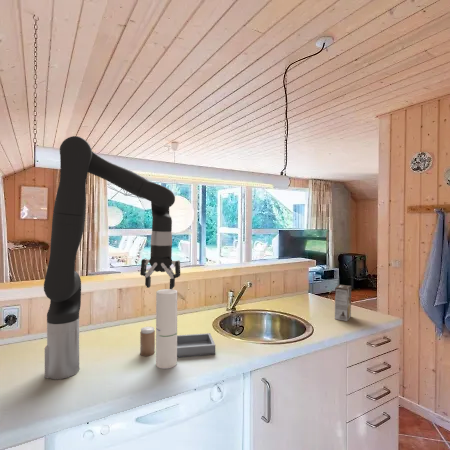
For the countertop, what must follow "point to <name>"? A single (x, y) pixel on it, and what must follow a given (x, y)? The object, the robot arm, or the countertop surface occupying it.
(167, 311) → the cylindrical container
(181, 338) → the tray
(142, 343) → the shaker
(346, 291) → the coffee box
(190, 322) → the countertop surface
